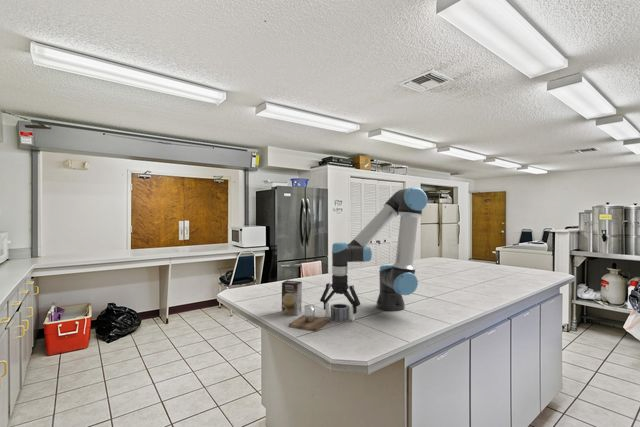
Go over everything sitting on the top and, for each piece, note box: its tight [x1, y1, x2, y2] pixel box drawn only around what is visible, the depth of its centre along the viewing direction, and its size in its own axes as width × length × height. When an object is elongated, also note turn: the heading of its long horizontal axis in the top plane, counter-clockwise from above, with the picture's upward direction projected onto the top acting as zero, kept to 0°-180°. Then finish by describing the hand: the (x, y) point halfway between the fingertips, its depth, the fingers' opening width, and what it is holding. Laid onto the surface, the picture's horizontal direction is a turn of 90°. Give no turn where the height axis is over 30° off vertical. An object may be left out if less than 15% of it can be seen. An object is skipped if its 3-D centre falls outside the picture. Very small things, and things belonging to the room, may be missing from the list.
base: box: [288, 314, 331, 332], centre depth 144 cm, size 14×14×1 cm
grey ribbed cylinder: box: [330, 303, 351, 323], centre depth 152 cm, size 9×9×6 cm
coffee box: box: [281, 279, 303, 316], centre depth 161 cm, size 9×6×16 cm
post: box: [304, 304, 315, 323], centre depth 144 cm, size 4×4×7 cm
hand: (339, 318), depth 152 cm, fingers open, 13 cm apart
